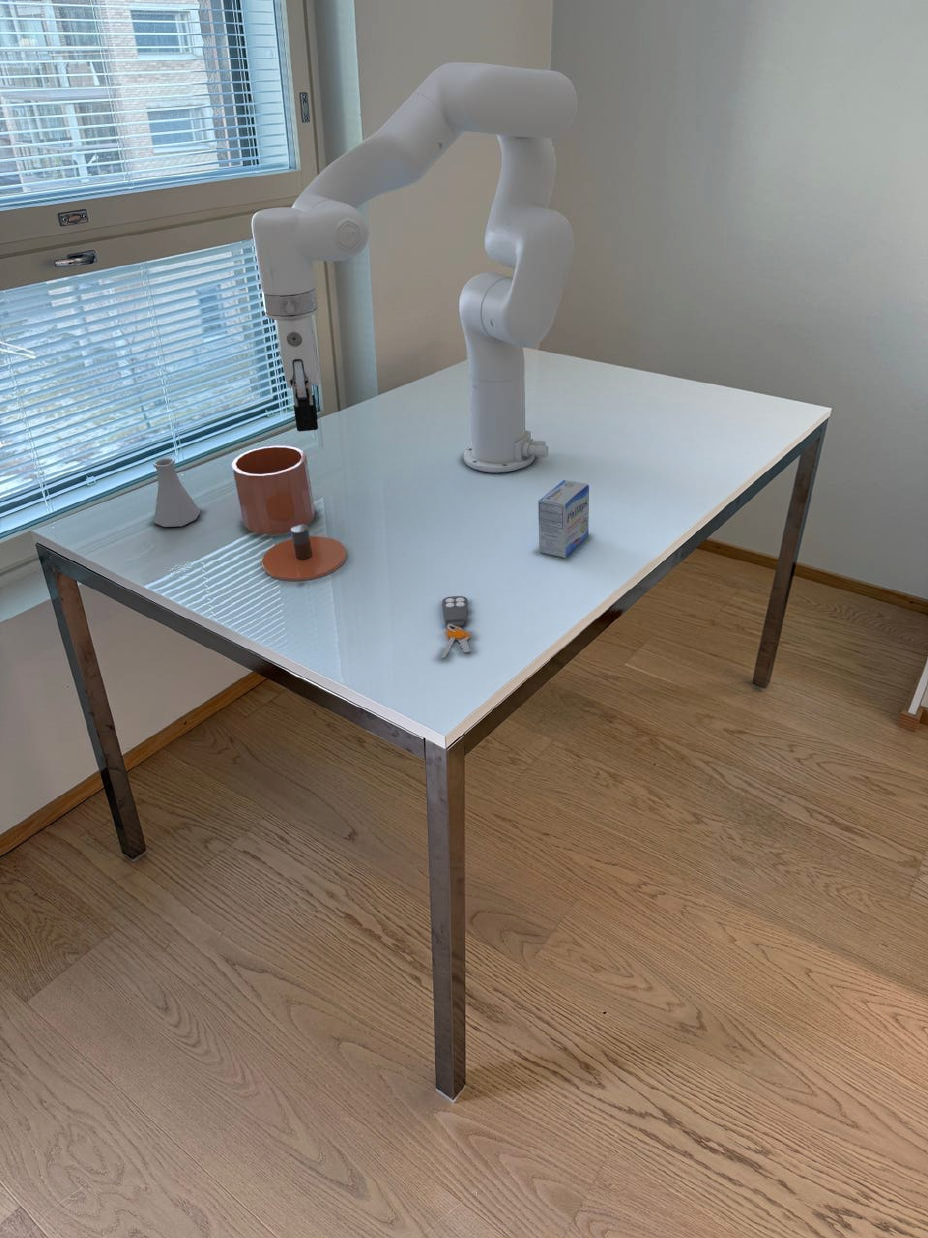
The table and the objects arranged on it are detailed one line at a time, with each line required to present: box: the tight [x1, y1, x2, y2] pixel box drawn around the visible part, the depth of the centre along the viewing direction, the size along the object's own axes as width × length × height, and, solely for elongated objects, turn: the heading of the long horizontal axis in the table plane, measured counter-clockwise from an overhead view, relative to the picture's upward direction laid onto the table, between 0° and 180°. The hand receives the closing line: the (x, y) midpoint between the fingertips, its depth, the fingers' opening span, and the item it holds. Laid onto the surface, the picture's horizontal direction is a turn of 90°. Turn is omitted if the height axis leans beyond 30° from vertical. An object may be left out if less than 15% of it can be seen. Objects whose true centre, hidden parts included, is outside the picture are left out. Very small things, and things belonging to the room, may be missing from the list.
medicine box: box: [537, 479, 590, 559], centre depth 138 cm, size 8×4×9 cm, turn 148°
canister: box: [230, 445, 316, 535], centre depth 149 cm, size 11×12×10 cm
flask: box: [152, 457, 201, 528], centre depth 152 cm, size 7×7×10 cm
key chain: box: [441, 595, 471, 659], centre depth 123 cm, size 13×4×2 cm, turn 2°
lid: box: [261, 524, 347, 582], centre depth 139 cm, size 12×12×6 cm
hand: (307, 424), depth 144 cm, fingers closed on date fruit, 3 cm apart
